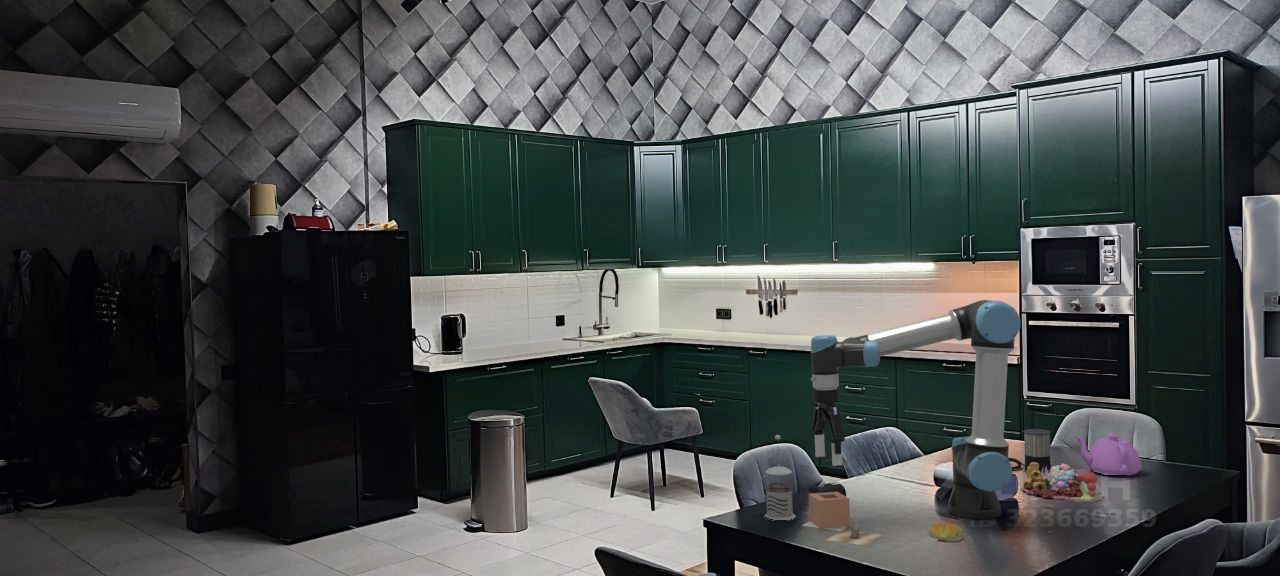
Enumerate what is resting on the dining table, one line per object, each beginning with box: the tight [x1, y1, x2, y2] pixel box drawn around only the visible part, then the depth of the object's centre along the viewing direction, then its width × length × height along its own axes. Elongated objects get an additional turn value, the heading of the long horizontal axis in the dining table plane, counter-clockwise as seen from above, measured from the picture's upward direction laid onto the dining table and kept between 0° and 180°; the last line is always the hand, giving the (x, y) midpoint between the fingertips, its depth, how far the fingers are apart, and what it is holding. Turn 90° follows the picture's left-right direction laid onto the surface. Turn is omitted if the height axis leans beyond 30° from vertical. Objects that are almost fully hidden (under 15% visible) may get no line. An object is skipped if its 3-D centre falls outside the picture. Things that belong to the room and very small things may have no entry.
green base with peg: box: [801, 520, 850, 532], centre depth 268 cm, size 12×12×7 cm
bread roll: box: [928, 522, 964, 543], centre depth 252 cm, size 8×9×4 cm
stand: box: [825, 517, 885, 547], centre depth 253 cm, size 12×12×6 cm
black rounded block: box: [808, 482, 847, 497], centre depth 291 cm, size 10×7×7 cm
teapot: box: [1073, 433, 1142, 475], centre depth 325 cm, size 22×22×14 cm
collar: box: [808, 492, 851, 530], centre depth 268 cm, size 9×9×8 cm
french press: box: [757, 434, 797, 521], centre depth 280 cm, size 10×12×25 cm
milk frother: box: [1008, 428, 1052, 473], centre depth 333 cm, size 14×16×15 cm
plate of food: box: [1020, 462, 1106, 502], centre depth 300 cm, size 25×24×9 cm
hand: (828, 460), depth 268 cm, fingers open, 13 cm apart
